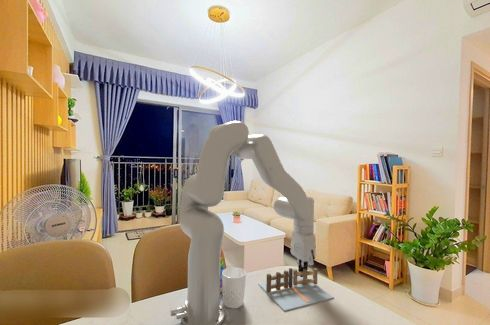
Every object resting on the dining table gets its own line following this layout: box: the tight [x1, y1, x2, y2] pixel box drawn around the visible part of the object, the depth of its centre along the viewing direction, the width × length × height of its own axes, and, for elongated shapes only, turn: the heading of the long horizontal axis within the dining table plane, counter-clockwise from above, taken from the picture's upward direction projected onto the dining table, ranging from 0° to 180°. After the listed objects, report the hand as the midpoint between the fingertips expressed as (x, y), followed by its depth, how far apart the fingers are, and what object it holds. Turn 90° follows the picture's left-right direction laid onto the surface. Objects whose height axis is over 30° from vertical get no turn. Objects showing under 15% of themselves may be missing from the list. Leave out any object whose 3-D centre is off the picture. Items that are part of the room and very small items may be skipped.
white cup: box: [221, 266, 247, 309], centre depth 81 cm, size 8×8×10 cm
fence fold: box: [292, 267, 319, 286], centre depth 92 cm, size 9×1×6 cm, turn 99°
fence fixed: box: [266, 267, 293, 293], centre depth 89 cm, size 10×1×7 cm, turn 113°
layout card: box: [258, 276, 335, 313], centre depth 89 cm, size 20×18×1 cm
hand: (302, 275), depth 95 cm, fingers closed
